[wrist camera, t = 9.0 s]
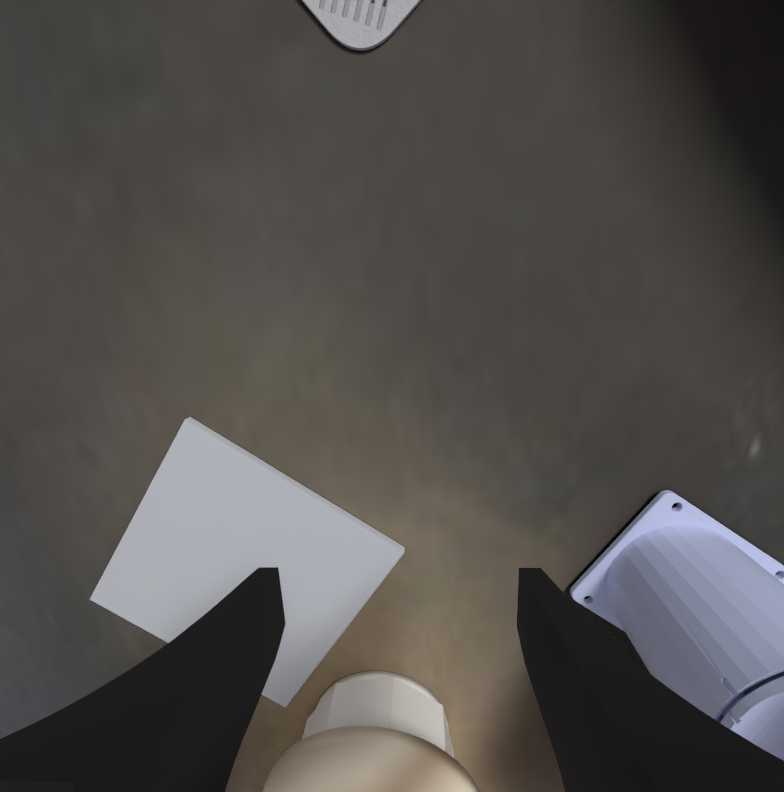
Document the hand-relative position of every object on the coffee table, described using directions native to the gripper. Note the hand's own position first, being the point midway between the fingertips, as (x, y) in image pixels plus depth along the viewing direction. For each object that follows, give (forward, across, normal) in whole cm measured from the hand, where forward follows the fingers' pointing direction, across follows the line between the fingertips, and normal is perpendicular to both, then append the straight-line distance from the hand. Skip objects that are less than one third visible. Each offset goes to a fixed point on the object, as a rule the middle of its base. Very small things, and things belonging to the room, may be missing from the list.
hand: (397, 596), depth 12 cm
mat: (+10, +10, +7) cm, 16 cm away
